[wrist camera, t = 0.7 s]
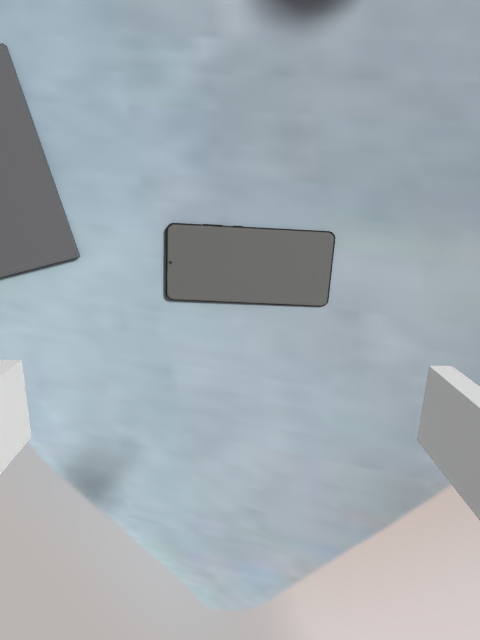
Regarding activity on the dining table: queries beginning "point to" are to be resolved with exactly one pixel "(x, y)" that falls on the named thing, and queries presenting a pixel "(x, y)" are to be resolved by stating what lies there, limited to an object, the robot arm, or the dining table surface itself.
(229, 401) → the dining table surface
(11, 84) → the mat
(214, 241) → the smartphone
